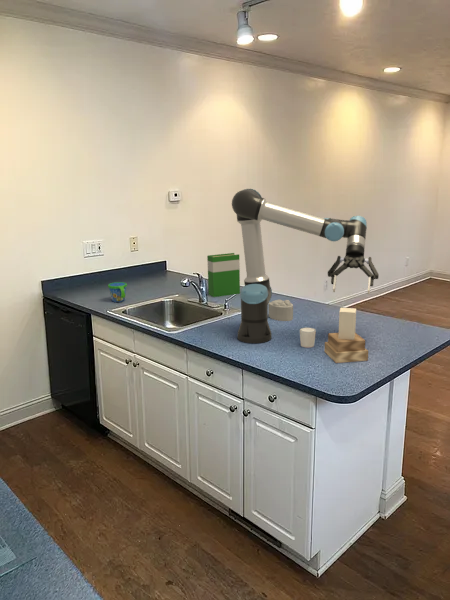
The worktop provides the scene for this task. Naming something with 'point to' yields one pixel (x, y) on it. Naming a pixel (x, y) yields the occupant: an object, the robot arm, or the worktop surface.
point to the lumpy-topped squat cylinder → (281, 310)
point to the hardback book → (223, 274)
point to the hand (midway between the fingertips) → (351, 291)
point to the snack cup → (117, 291)
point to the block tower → (346, 349)
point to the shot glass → (307, 337)
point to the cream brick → (347, 323)
